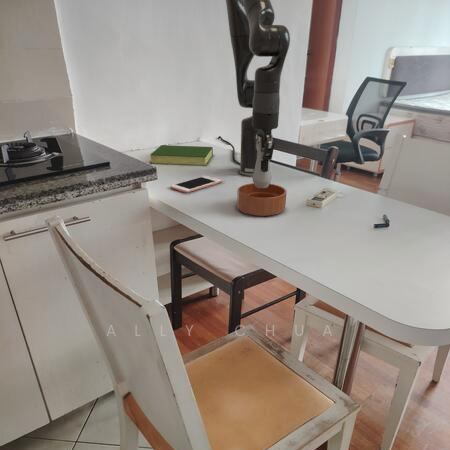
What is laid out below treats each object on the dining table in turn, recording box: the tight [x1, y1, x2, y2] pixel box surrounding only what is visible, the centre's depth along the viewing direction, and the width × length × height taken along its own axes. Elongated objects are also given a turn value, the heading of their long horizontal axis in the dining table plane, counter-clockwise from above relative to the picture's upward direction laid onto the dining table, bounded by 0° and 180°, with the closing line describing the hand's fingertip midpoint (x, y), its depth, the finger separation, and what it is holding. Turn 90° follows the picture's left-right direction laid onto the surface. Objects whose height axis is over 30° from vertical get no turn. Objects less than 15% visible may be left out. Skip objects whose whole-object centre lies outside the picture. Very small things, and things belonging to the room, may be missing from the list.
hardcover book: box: [149, 144, 214, 167], centre depth 184 cm, size 25×19×4 cm
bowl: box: [236, 182, 287, 217], centre depth 130 cm, size 15×15×6 cm
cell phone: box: [170, 175, 222, 194], centre depth 151 cm, size 9×18×1 cm, turn 137°
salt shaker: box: [252, 143, 272, 188], centre depth 124 cm, size 6×6×13 cm
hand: (262, 171), depth 125 cm, fingers closed on salt shaker, 3 cm apart
